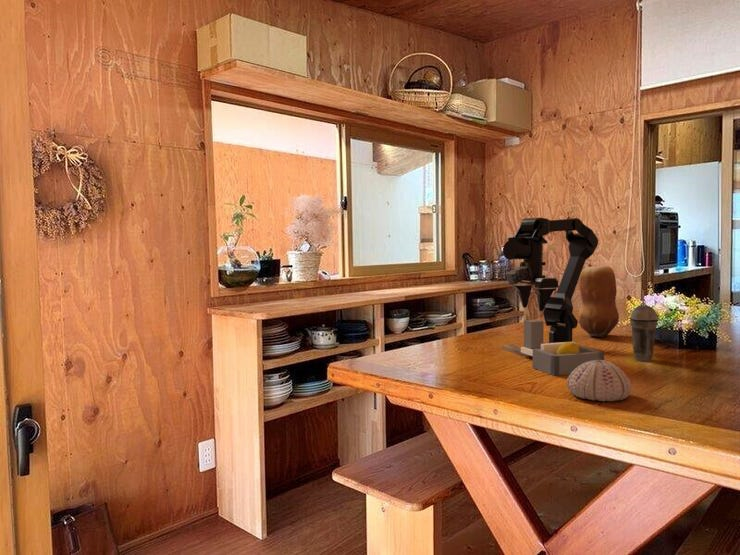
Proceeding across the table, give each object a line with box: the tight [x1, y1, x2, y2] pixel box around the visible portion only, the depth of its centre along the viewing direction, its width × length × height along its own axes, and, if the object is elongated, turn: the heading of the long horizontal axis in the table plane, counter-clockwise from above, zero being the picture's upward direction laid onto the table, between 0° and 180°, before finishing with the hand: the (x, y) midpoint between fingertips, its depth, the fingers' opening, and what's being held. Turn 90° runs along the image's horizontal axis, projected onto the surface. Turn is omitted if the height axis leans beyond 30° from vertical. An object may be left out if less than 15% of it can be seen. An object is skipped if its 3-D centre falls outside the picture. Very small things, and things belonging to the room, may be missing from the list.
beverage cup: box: [629, 289, 659, 362], centre depth 162 cm, size 7×7×20 cm
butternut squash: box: [577, 265, 620, 338], centre depth 200 cm, size 14×13×25 cm
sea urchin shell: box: [566, 359, 633, 402], centre depth 127 cm, size 13×14×8 cm
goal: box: [532, 345, 605, 377], centre depth 153 cm, size 15×10×5 cm, turn 106°
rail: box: [500, 343, 533, 359], centre depth 176 cm, size 4×16×1 cm, turn 16°
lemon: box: [556, 341, 579, 355], centre depth 152 cm, size 6×6×8 cm
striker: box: [520, 319, 577, 356], centre depth 163 cm, size 10×15×10 cm, turn 16°
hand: (532, 309), depth 177 cm, fingers open, 9 cm apart
